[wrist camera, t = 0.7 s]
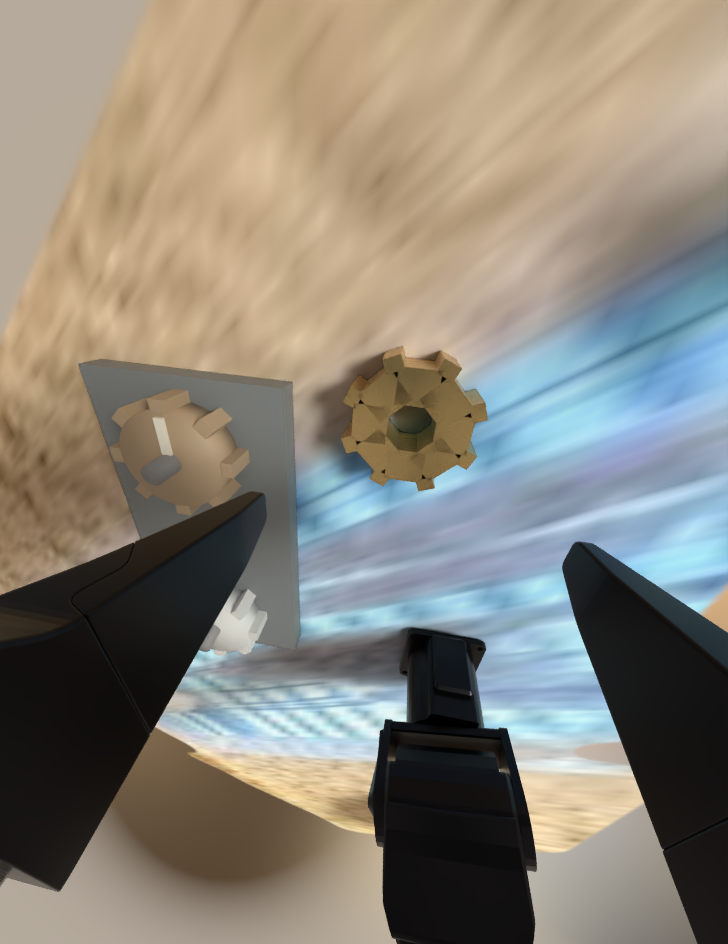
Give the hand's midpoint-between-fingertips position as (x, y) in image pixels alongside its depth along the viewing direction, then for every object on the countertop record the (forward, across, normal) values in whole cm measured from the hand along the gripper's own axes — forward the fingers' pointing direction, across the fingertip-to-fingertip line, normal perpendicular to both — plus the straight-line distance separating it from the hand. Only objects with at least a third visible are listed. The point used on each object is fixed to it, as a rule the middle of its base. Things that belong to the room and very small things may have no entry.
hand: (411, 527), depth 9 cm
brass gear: (+10, 0, 0) cm, 10 cm away
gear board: (+10, +13, +11) cm, 20 cm away
